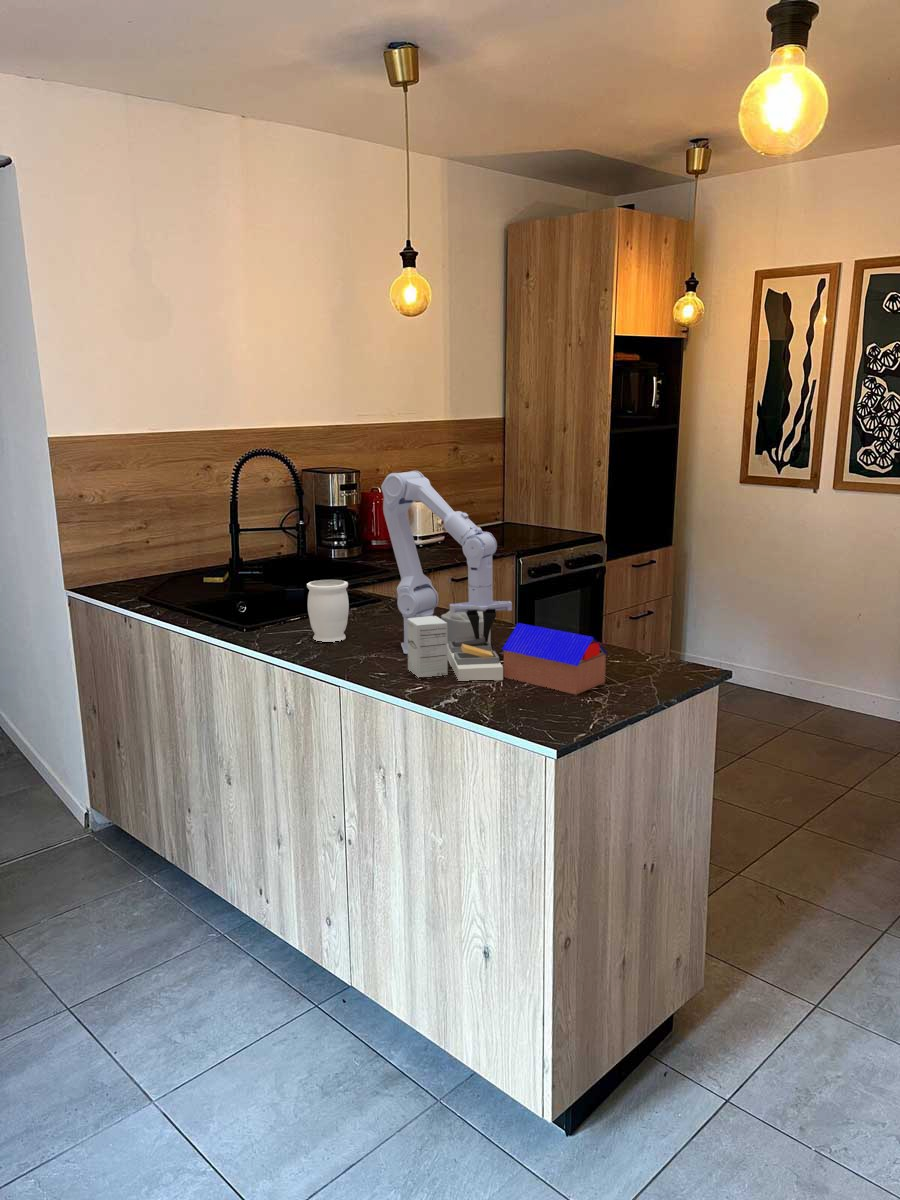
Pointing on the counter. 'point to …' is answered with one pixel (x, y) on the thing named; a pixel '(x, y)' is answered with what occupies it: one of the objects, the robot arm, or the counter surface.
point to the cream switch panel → (474, 663)
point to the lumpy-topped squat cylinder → (462, 625)
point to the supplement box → (427, 646)
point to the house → (554, 659)
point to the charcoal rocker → (469, 640)
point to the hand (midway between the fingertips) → (481, 641)
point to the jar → (328, 609)
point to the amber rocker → (476, 651)
